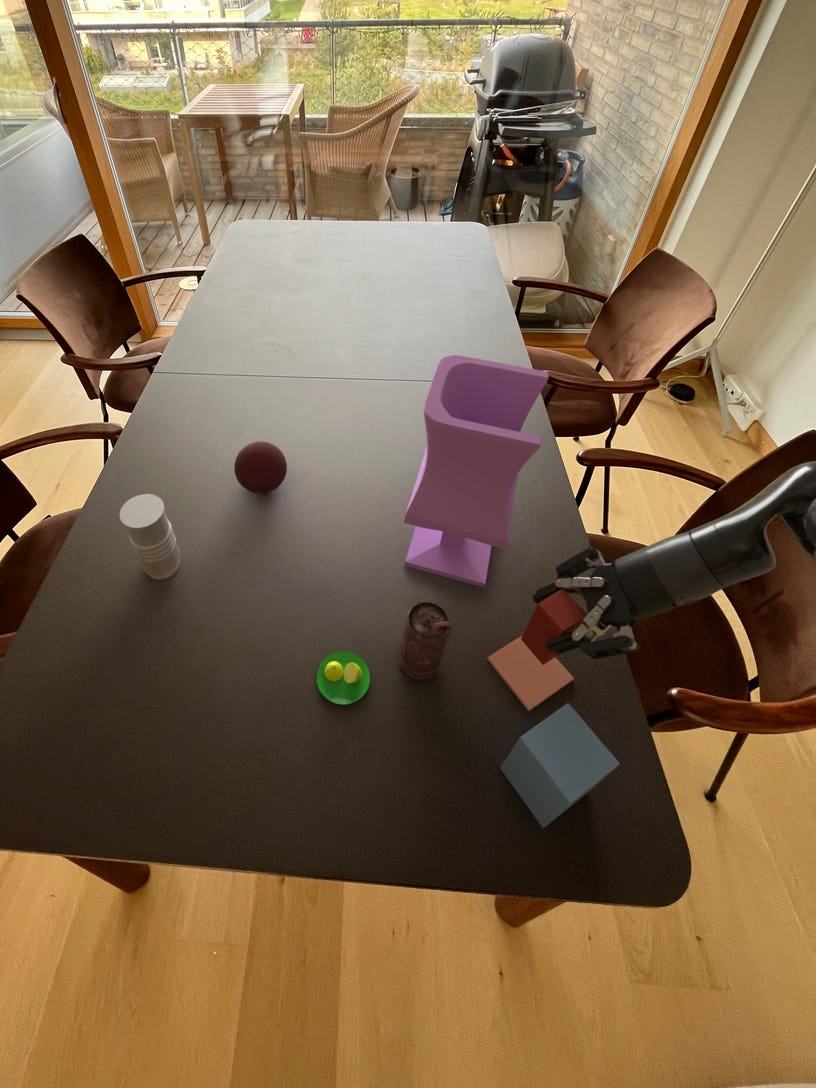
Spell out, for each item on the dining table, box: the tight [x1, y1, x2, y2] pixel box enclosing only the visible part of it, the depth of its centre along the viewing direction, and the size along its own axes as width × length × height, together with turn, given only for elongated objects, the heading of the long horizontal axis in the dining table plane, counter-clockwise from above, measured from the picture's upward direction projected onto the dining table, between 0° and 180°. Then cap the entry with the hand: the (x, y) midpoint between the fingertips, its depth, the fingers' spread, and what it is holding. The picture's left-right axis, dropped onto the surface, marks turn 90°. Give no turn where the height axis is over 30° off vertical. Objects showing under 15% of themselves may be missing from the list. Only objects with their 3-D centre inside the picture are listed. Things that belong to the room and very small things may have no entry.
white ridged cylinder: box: [119, 493, 181, 580], centre depth 94 cm, size 7×7×15 cm
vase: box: [403, 354, 550, 588], centre depth 90 cm, size 16×16×35 cm
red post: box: [521, 589, 588, 665], centre depth 77 cm, size 4×4×10 cm
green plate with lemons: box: [316, 650, 371, 705], centre depth 84 cm, size 8×8×3 cm
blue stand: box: [500, 702, 621, 829], centre depth 71 cm, size 8×8×12 cm
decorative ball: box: [233, 440, 288, 495], centre depth 109 cm, size 10×10×10 cm
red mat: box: [486, 634, 575, 712], centre depth 86 cm, size 9×9×1 cm
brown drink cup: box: [397, 601, 453, 684], centre depth 82 cm, size 6×6×14 cm
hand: (542, 623), depth 76 cm, fingers closed on red post, 6 cm apart
